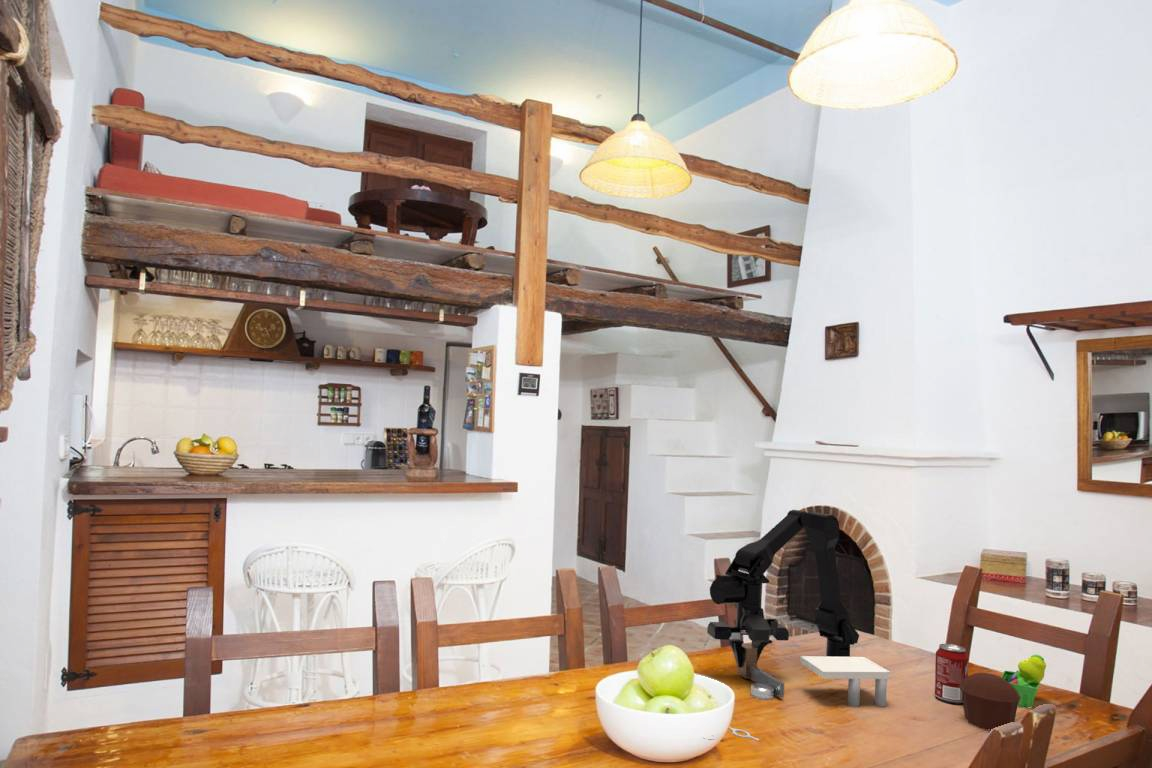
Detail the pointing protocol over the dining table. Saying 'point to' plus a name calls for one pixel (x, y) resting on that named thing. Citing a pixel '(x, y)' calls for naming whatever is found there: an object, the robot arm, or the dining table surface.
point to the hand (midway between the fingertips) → (746, 667)
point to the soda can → (950, 672)
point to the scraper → (757, 670)
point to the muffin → (988, 700)
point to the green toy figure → (1027, 679)
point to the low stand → (850, 674)
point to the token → (762, 691)
